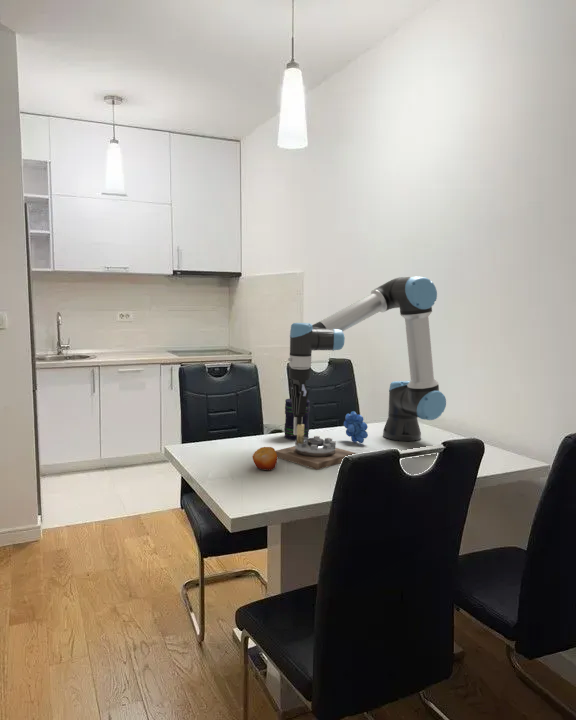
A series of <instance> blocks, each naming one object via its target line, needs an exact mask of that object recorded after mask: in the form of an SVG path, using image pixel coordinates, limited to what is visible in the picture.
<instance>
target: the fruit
mask: <svg viewBox="0 0 576 720" xmlns="http://www.w3.org/2000/svg"><path fill="white" fill-rule="evenodd" d="M251 457H252V461H253V463H254V466H255V467H256V468H257V469H259V470H262V471H273V470H274V469H276V466H277V463H278V458H277V453H276V450H275V448H274V447H272V446H263V447H260V448H258V449H256V451H254V452H253V454H252V456H251Z"/></svg>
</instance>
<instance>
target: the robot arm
mask: <svg viewBox="0 0 576 720" xmlns="http://www.w3.org/2000/svg"><path fill="white" fill-rule="evenodd" d="M437 297H438V291H437V287H436V286H435V284H434V282H433V280H430V279H429V278H428V277H424V276H407V277H406V276H402V277H400V276H399V277H396V278H393V279H391V280H389V281H386V282H385V283H383V284H382V285H380V286H378V287H376V288H374V289H373V290H371V292H370V294H368V295H367V296H365V297H363V298H361V299H358V300H357V301H355V302H353V303H351V304H349V305H347V306H346V307H344V308H342V309H341V310H338V311H336V312H335V313H333V314H331V315H329V316H327V317H326V318H325V317H324V318H323V319H321V320H320V321H318V322H316V323H314V324H312V323H310V322H293V323H292V324H291V325H290V331H289V332H290V333H289V358H287V360H288V362H289V364H288V365H289V367H290V368H288V378H289V379H290V380H293V381H292V384H290V386H289V387H290V394H291V395H290V398H291V401H292V413H293V414H294V430H293V434H294V435H297V424H302V417H303V416H305V412H306V404H307V400H308V396H309V390H307V384H306V383H307V382H306V381H309V380H311V375H312V372H311V371H312V370H311V368H312V351H332V352H334V351H340V350H342V349H343V348H344V345H345V339H346V338H345V337H346V336H345V334H344V332H345V331H346V330H348V329H350V328H352V327H353V326H356V325H357V324H359V323H361V322H363V321H365V320H367V319H369V318H370V317H372V316H374V315H376V314H377V313H386V312H387V311H389V310H393V309H398V308H399V314H400V316H401V317H402V318H403V319H404V321H405V322H404V323H405V332H406V333H405V334H406V343H407V346H406V347H407V353H408V364H409V375H410V380H396V381H392V382H390V384H389V389H388V392H389V395H388V415H387V419H386V422H385V425H384V426H383V427H384V428H383V430H382V431H383V432H382V436H383V437H384V438H386V439H389V440H392V441H398V440H399V441H400V442H415V440H416V441H420V440H421V439H422V431H421V428H420V424H419V421H418V418H419V419H421V420H425V421H426V420H427V421H435V420H437V419H438V418H439V417H441V416H442V413H444V412H445V410H446V406H447V399H446V396H445V394H444V393H442V391H440V387H439V382H438V381H437V379H435V377H434V367H433V354H432V353H433V351H432V343H431V332H430V321H429V316H430V314H432V312H433V306H434V305H435V302H436V301H437V299H438V298H437Z"/></svg>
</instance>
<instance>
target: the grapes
mask: <svg viewBox="0 0 576 720" xmlns="http://www.w3.org/2000/svg"><path fill="white" fill-rule="evenodd" d="M343 427H344V428H345V429H346V430H345V435H346V436H347V437H348V438H349V437H350V440H351V441H352V442H353V443H357V442H358V443H359V444H363V443H364V441H365V439H367V438H368V436H369V434H368V432H367V429H368V427H369V426H368V424H367V423H366V422H365V421H364V417H363V416H362V415H361V414H357V411H354V410H353V411H351V412H350V413H346V415H345V420H344V421H343Z"/></svg>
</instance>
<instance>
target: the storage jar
mask: <svg viewBox="0 0 576 720" xmlns="http://www.w3.org/2000/svg"><path fill="white" fill-rule="evenodd" d="M310 402H311V401H310V400H309V399H307V404H306V412H305V416H303V417H302V424H304V436H305V437H308V439H309V438H310V437H309V434H310V423H309V419H310V417H309V416H310V410H311V407H310V405H311V404H310ZM284 405H285V406H284V414H285V423H284V429H283V430H284V439H286V440H289V441H295V440H296V439H297V435H294V434H293V430H294V414H293V413H292V401H291V397H290V398H286V399H285V403H284Z"/></svg>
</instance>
